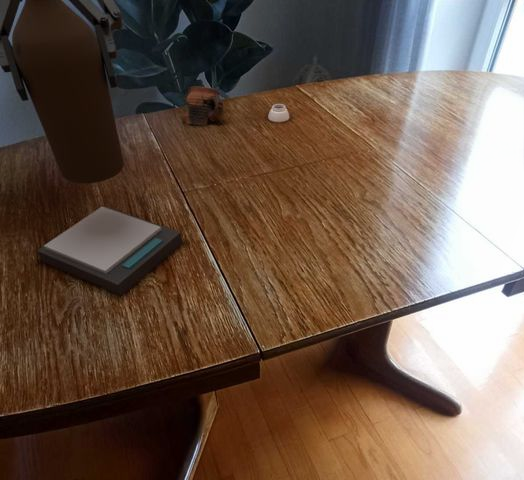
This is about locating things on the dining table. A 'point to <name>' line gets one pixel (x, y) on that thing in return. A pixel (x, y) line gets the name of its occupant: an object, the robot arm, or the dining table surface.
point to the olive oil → (68, 89)
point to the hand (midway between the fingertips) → (68, 88)
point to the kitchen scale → (111, 249)
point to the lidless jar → (278, 113)
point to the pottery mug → (202, 105)
